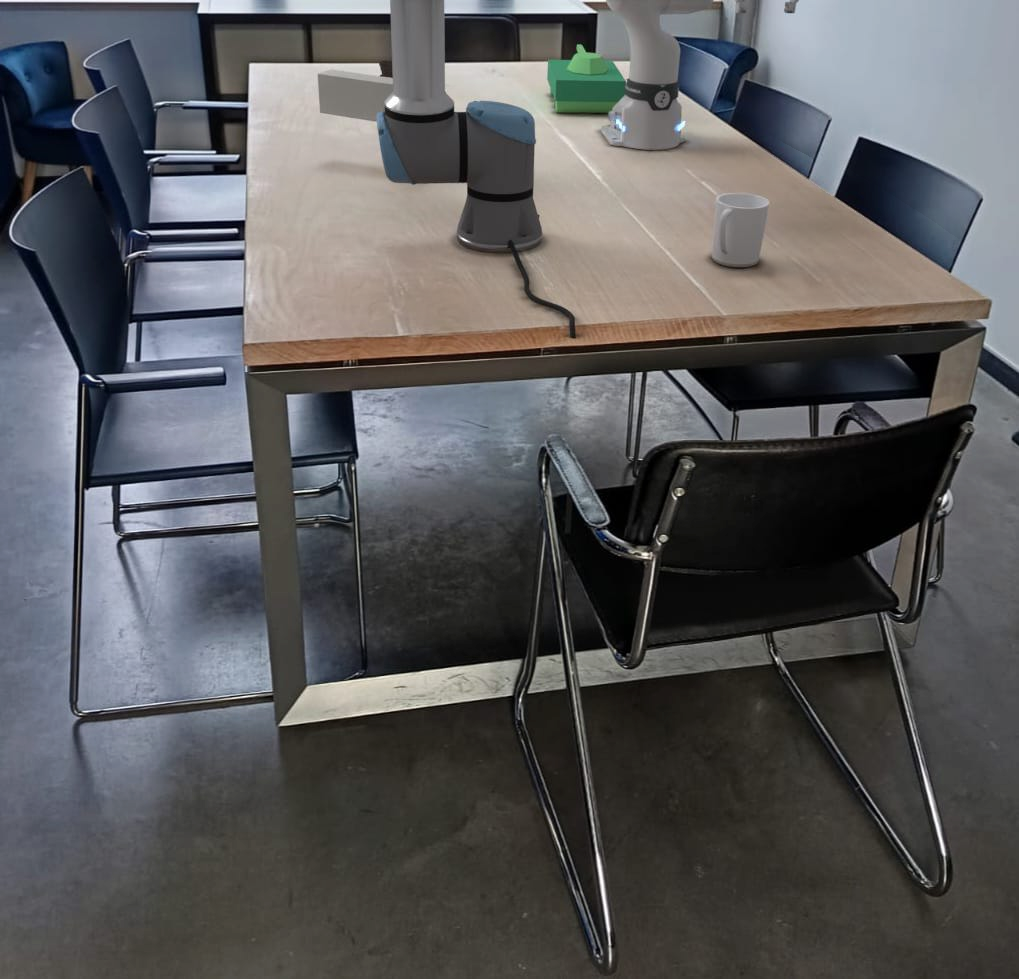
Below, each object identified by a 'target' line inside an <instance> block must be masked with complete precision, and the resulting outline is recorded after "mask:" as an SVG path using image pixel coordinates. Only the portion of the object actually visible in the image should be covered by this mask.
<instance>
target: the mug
mask: <svg viewBox="0 0 1019 979" xmlns="http://www.w3.org/2000/svg"><path fill="white" fill-rule="evenodd" d="M769 209H770V200H769V199H768V198H766V197H764V196H761V195H758V194H753V193H748V192H747V193H746V192H727V193H722V194H719V195H717V196H716V198H715V204H714V218H713V232H712V246H711V258H712V261H713V262H715V263H716V264H719V265H721V266H724V267H728V268H729V267H732V268H748V267H749V268H750V267H753V266H755V265H757V264H758V263H759V261H760V255H761V250H762V246H763V240H764V234H765V229H766V225H767V219H768V214H769Z"/></svg>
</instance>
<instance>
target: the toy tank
mask: <svg viewBox="0 0 1019 979" xmlns="http://www.w3.org/2000/svg"><path fill="white" fill-rule="evenodd" d="M576 51H577V52H576V53H575V54H574V55H573V56H572V58H571V59H547V71H546V72H547V74H546V75H547V76H546V80H547V83H548V85H549V89H550V90H549V92H550V95H551V96H553V100H554V108H555V113H582V114H583V113H585V114H586V113H587V114H588V113H589V114H591V113H592V114H593V113H594V114H595V113H596V114H608V113H609V112H610V111H612V108H613V107H614V106H615V105H616V104H617V103H618V102H619V101H620V100H621V98H622V97H623V96H624V95H625V93H624V91H625V85H626V83H627V80H626V79H625V78H624V76H623V75H622V73H621V71H620V70H619V68H618V67H617V65H616V64H615V62H614V61H613V60H605V59H604V57H603V55H601V54H599V53H595V52H587V51H586V49H585V48H584V46H583V45H582V44H576Z"/></svg>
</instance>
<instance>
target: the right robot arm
mask: <svg viewBox="0 0 1019 979" xmlns="http://www.w3.org/2000/svg"><path fill="white" fill-rule="evenodd" d="M714 1H715V0H605V3H606V4H607V6H608V8H609V9H610V10H611V11H612V12H613V13H614V14H615V15H616V16H617V17H618V19H619V20H621V22H622V24H623V25H624V27H625V30H626V33H627V37H628V41H629V76H628V78H626V79H625V80H626V85H625V91H624V93H625V95H624V96H623V97H622V98H621V100H620V101H619V102H618V103H617V104H616V105H615V106H614V107H613V108H612V111H610V112H609V113H607V120H608V122H610V124H605V125H602V126H600V132H601V133H602V135H603V136H604V138H605V139H606V141H607V142H608V144H609V145H611V146H615V147H625V148H629V149H635V150H646V151H647V150H648V151H651V150H652V151H654V150H656V151H657V150H658V151H659V150H668V149H672V148H673V149H674V148H676V147H678V146H679V145H680V144H681V143H685V142H686V136H685V135H683V134H682V129H683V128H684V126H685V125H686V120H683V121H682V116H683V113H682V112H683V108H682V107H683V106H682V104H681V103H679V101H678V98H679V91H680V81H679V80H678V78H679V69H680V58H681V46H680V44H679V42H678V39H676V38H675V37H674V36H673V35H671V34H670V33H669V32H667V31H665V30H663V29H662V27H661V21H660V20H661V19H660V18H661V16H662V15H664V16H665V15H689V14H693V13H694V14H695V13H698V12H701V11H705V10H707V9H709V8H710V7H711V5H712V4H713V2H714ZM734 1H735V13H736V14H746V13H747V7H748V3H747V2H745V1H743V0H734ZM799 1H800V0H789V1H785V2H784V10H783V13H785V14H795V12H796V9H797V8H796V7H797V4H798V2H799Z"/></svg>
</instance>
